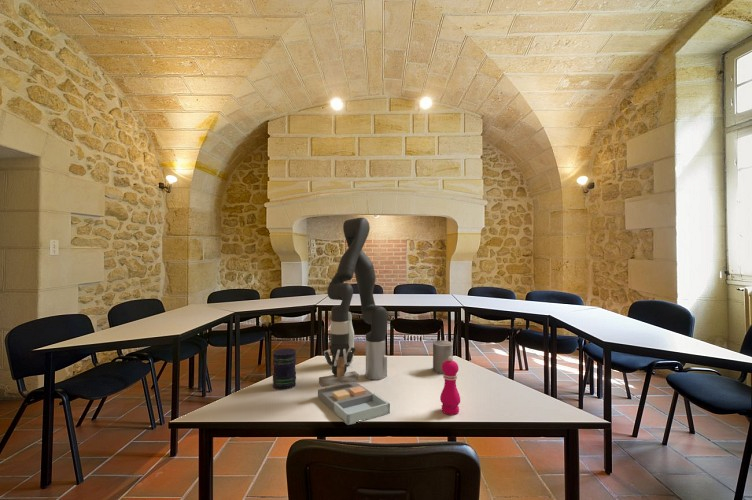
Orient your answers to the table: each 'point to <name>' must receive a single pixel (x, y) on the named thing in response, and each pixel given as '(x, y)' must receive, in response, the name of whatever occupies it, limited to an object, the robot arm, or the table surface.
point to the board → (329, 400)
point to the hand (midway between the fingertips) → (339, 373)
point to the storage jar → (284, 369)
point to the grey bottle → (350, 335)
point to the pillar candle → (441, 354)
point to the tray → (363, 410)
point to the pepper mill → (450, 388)
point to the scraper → (339, 375)
